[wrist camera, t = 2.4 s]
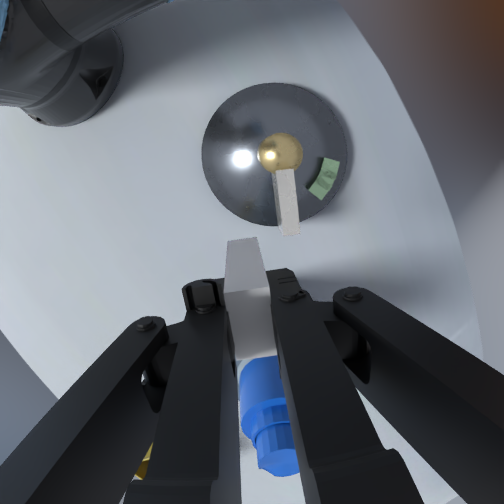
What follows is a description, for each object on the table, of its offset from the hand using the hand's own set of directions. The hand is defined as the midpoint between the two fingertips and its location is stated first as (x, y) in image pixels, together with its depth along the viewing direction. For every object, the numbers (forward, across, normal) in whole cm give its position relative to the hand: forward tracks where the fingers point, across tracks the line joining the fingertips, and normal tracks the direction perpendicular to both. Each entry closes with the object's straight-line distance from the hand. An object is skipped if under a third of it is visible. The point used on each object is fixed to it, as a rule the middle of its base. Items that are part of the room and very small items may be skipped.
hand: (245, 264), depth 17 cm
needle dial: (+21, +5, +2) cm, 22 cm away
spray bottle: (+23, +1, -14) cm, 27 cm away
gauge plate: (+23, +5, +5) cm, 24 cm away
